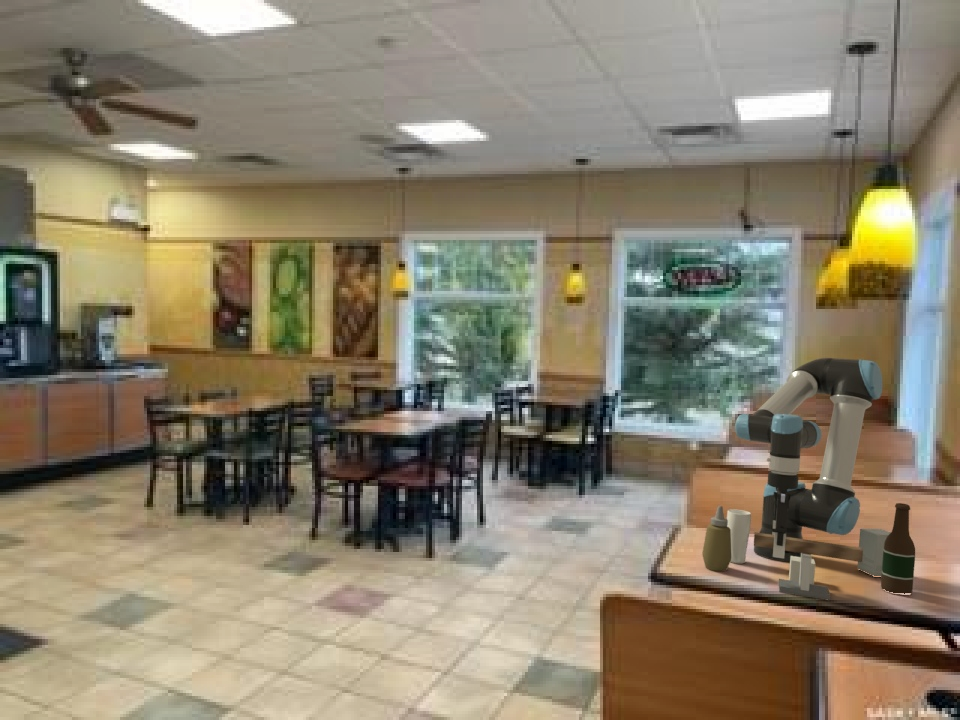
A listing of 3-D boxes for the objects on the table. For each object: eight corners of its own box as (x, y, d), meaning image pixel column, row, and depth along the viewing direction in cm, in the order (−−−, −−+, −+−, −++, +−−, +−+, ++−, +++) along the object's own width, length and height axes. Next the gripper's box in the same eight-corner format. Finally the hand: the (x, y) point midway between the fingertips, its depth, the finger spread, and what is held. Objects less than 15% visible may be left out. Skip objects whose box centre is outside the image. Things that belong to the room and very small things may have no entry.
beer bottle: (874, 585, 199) (880, 500, 198) (902, 587, 198) (909, 502, 198) (889, 595, 191) (896, 506, 190) (918, 597, 191) (925, 508, 190)
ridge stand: (779, 591, 188) (782, 552, 188) (778, 584, 194) (781, 545, 194) (829, 600, 184) (832, 559, 183) (827, 592, 190) (830, 552, 190)
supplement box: (896, 578, 207) (899, 535, 207) (873, 578, 206) (876, 534, 205) (878, 570, 214) (881, 528, 214) (856, 569, 213) (859, 527, 213)
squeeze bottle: (726, 565, 209) (731, 504, 208) (733, 574, 201) (738, 510, 200) (698, 563, 209) (702, 502, 209) (704, 571, 201) (709, 508, 201)
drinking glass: (723, 562, 211) (727, 512, 211) (723, 556, 218) (727, 508, 217) (747, 566, 209) (751, 515, 209) (747, 560, 215) (751, 511, 215)
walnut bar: (753, 545, 192) (754, 534, 192) (753, 543, 195) (754, 532, 195) (862, 562, 183) (863, 550, 183) (860, 559, 185) (861, 547, 185)
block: (789, 581, 197) (791, 560, 197) (788, 576, 202) (790, 555, 202) (813, 585, 195) (815, 564, 195) (812, 580, 200) (813, 559, 199)
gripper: (767, 464, 204) (762, 537, 204) (769, 477, 180) (763, 560, 181) (796, 467, 201) (790, 542, 202) (801, 481, 178) (795, 565, 178)
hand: (777, 551), depth 191 cm, fingers open, 13 cm apart
